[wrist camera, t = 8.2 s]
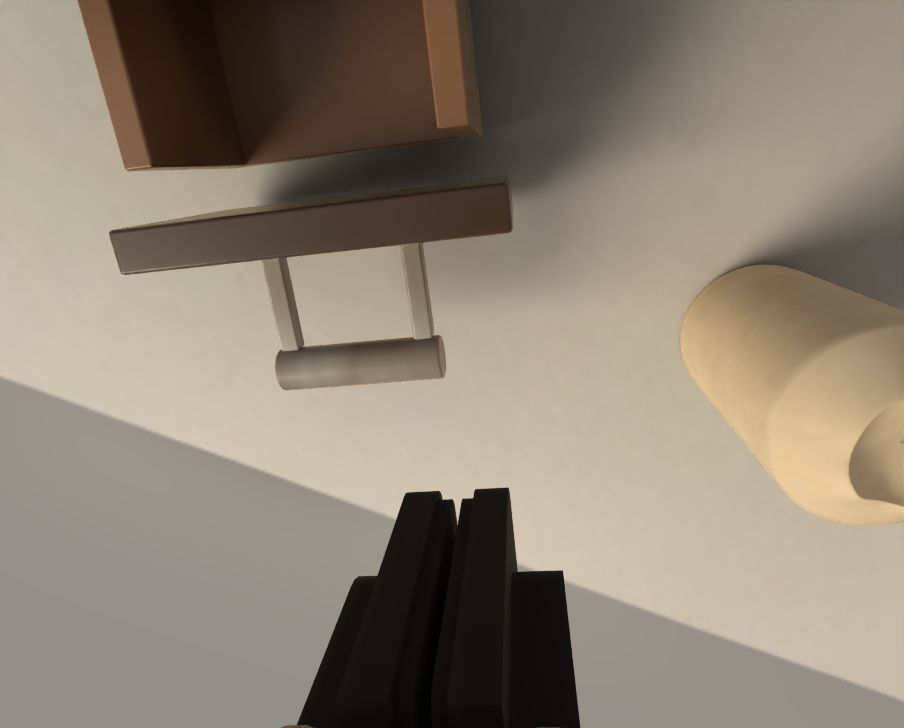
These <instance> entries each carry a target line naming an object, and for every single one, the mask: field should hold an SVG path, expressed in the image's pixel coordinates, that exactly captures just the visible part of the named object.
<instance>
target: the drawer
mask: <svg viewBox="0 0 904 728" xmlns="http://www.w3.org/2000/svg"><path fill="white" fill-rule="evenodd" d="M78 3H79V7H80V10H81V14H82V18H83V21H84V25H85V28H86V32H87V35H88V39H89V42H90V46H91V49H92V53H93V57H94V60H95V64H96V67H97V71H98V74H99V78H100V81H101V85H102V88H103V92H104V96H105V99H106V103H107V106H108V110H109V113H110V117H111V120H112V124H113V127H114V131H115V135H116V138H117V142H118V145H119V149H120V152H121V156H122V159H123V163H124V167H125V169H126V170H127V171H152V170H188V169H223V168H240V167H248V166H255V165H263V164H271V163H278V162H286V161H293V160H301V159H308V158H316V157H324V156H331V155H339V154H346V153H354V152H362V151H369V150H377V149H384V148H392V147H399V146H407V145H415V144H422V143H430V142H437V141H445V140H452V139H460V138H468V137H475V136H481V135H482V124H481V113H480V103H479V93H478V82H477V72H476V61H475V51H474V40H473V30H472V19H471V9H470V0H78ZM512 229H513V207H512V195H511V183H510V177H509V176H502V177H494V178H486V179H477V180H469V181H461V182H453V183H445V184H436V185H428V186H420V187H412V188H404V189H396V190H387V191H379V192H371V193H363V194H355V195H346V196H338V197H330V198H322V199H314V200H306V201H297V202H289V203H281V204H273V205H265V206H256V207H248V208H240V209H232V210H225V211H219V212H214V213H208V214H202V215H196V216H191V217H185V218H179V219H173V220H168V221H162V222H156V223H150V224H145V225H139V226H133V227H127V228H122V229H116V230H112V231H110V232H109V235H110V238H111V242H112V245H113V248H114V252H115V255H116V258H117V262H118V265H119V268H120V272H121V273H122V274H124V275H129V274H139V273H148V272H157V271H166V270H175V269H184V268H193V267H203V266H212V265H221V264H230V263H239V262H248V261H257V260H262V263H263V268H264V272H265V277H266V281H267V286H268V290H269V295H270V299H271V304H272V308H273V313H274V317H275V322H276V326H277V331H278V335H279V340H280V344H281V350H280V351H279V352H278V354H277V357H276V362H275V370H276V377H277V380H278V383H279V385H280V387H281V388H282V389H284V390H298V389H311V388H324V387H337V386H349V385H362V384H375V383H388V382H401V381H413V380H426V379H439V378H444V376H445V372H446V358H445V349H444V343H443V340H442V337H441V336H440V335H434V326H433V318H432V311H431V303H430V296H429V288H428V281H427V273H426V266H425V258H424V251H423V243H422V242H431V241H440V240H449V239H459V238H468V237H477V236H486V235H495V234H504V233H510V232H512ZM395 245H401V252H402V259H403V266H404V273H405V280H406V287H407V294H408V301H409V307H410V314H411V321H412V328H413V335H414V337H410V338H399V339H388V340H376V341H365V342H353V343H342V344H331V345H319V346H308V347H302V346H304V341H303V336H302V331H301V326H300V321H299V316H298V312H297V307H296V302H295V297H294V292H293V288H292V283H291V278H290V273H289V268H288V264H287V259H286V257H294V256H303V255H312V254H321V253H331V252H340V251H349V250H358V249H367V248H376V247H385V246H395Z"/></svg>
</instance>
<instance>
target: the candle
mask: <svg viewBox="0 0 904 728" xmlns="http://www.w3.org/2000/svg"><path fill="white" fill-rule="evenodd" d="M680 347H681V353H682V357H683V360H684V363H685V366H686V368H687V370H688V372H689V374H690V376H691V377H692V378H693V380H694V381H695V383H696V384H697V385H698V387H699V388H700V389H701V390H702V392H703V393H704V394H705V395H706V396H707V398H708V399H709V400H710V401H711V403H712V404H713V405H714V406H715V407H716V409H717V410H718V411H719V412H720V413H721V415H722V416H723V417H724V418H725V420H726V421H727V422H728V423H729V424H730V426H731V427H732V428H733V429H734V430H735V432H736V433H737V434H738V435H739V437H740V438H741V439H742V440H743V441H744V443H745V444H746V445H747V446H748V448H749V449H750V450H751V451H752V452H753V454H754V455H755V456H756V457H757V458H758V460H759V461H760V462H761V463H762V465H763V466H764V467H765V468H766V469H767V471H768V472H769V473H770V474H771V475H772V477H773V478H774V479H775V480H776V482H777V483H778V484H779V485H780V486H781V488H782V489H783V490H784V491H785V492H786V493H787V494H788V495H789V496H790V497H791V499H792V500H794V501H795V502H796V503H797V504H799V505H800V506H801V507H803V508H804V509H806V510H808V511H809V512H811V513H813V514H815V515H817V516H820V517H822V518H824V519H827V520H831V521H834V522H838V523H843V524H849V525H861V526H874V525H886V524H892V523H898V522H902V521H904V311H903V310H900V309H898V308H895V307H892V306H890V305H887V304H885V303H882V302H879V301H877V300H874V299H872V298H869V297H866V296H864V295H861V294H859V293H856V292H853V291H851V290H848V289H846V288H843V287H840V286H838V285H835V284H833V283H830V282H827V281H825V280H822V279H820V278H817V277H814V276H812V275H809V274H807V273H804V272H801V271H798V270H795V269H792V268H788V267H785V266H778V265H753V266H747V267H743V268H739V269H737V270H734V271H731V272H729V273H727V274H725V275H723V276H721V277H719V278H718V279H716V280H715V281H713V282H712V283H711V284H709V285H708V286H707V287H706V288H705V289H704V290H703V291H702V292H701V293H700V294H699V295H698V296H697V297H696V299H695V300H694V301H693V303H692V304H691V306H690V308H689V310H688V311H687V314H686V316H685V318H684V321H683V325H682V329H681V336H680Z"/></svg>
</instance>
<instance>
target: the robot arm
mask: <svg viewBox="0 0 904 728" xmlns="http://www.w3.org/2000/svg"><path fill="white" fill-rule="evenodd" d="M567 613H568V612H567V604H566V594H565V585H564V576H563V571H530V572H518V571H517V561H516V551H515V541H514V531H513V521H512V511H511V501H510V493H509V488H492V489H475V491H474V498H471V499H462V503H461V509H460V515H459V521H458V526H457V519H456V511H455V505H454V501H453V499H450V500H443V499H442V495H441V493H440V491H430V492H410V493H406V494H405V496H404V499H403V502H402V505H401V508H400V511H399V514H398V517H397V519H396V522H395V525H394V528H393V531H392V534H391V537H390V540H389V543H388V546H387V549H386V552H385V555H384V558H383V561H382V564H381V567H380V570H379V573H378V576H359V577H357V578H356V579H355V580H354V582H353V584H352V586H351V588H350V591H349V593H348V596H347V598H346V601H345V603H344V606H343V609H342V611H341V614H340V616H339V619H338V622H337V624H336V626H335V629H334V631H333V634H332V637H331V639H330V642H329V644H328V647H327V649H326V652H325V654H324V657H323V659H322V662H321V665H320V667H319V670H318V673H317V675H316V677H315V680H314V682H313V685H312V688H311V690H310V693H309V695H308V698H307V701H306V703H305V705H304V708H303V711H302V713H301V716H300V718H299V721H298V723H297V725H288V726H284V727H280V728H580V722H579V712H578V704H577V694H576V685H575V676H574V667H573V658H572V649H571V640H570V630H569V622H568V614H567Z"/></svg>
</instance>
